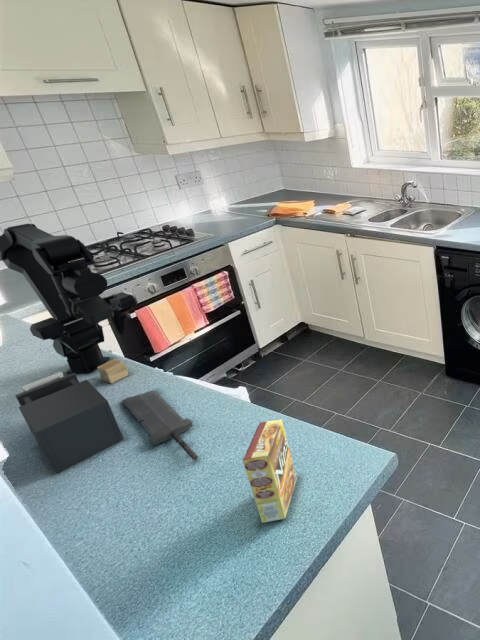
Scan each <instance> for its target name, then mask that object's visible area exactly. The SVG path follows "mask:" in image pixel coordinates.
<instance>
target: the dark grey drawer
mask: <svg viewBox="0 0 480 640" xmlns="http://www.w3.org/2000/svg"><path fill="white" fill-rule="evenodd" d="M77 383H80V381H79V379H78V377H77V373H72V374H66V375H65V376H64V374H63V372H62V371H59V372H56V373H53V374H51V375H48V376H45V377H43V378H40V379H37V380H36V381H32V382H30V383H27V384H24V385H22V386H20V388H21V390H22V392H20V393H17V394H15V395H14V396H15V398H16V400H17V402H18V404H19V407H20V406H23V405H25V404H28V403H30V402H33V401H35V400H37V399H40V398H42V397H45V396H47V395H50V394H52V393H55V392H57V391H60V390H62V389H65V388H67V387H70V386H72V385H75V384H77Z"/></svg>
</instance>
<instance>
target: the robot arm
mask: <svg viewBox="0 0 480 640" xmlns="http://www.w3.org/2000/svg"><path fill="white" fill-rule="evenodd" d="M94 257H95V256H94V255H93V253H92V252H91V251H90V249H89V248H88V247H87V246H86V244H84V243H83V242H82V241H81V240H80V239H78V238H75V237H74V236H72V235H67V234H61V235H53V234H51V233H48V232H47V231H44V230H43V229H40V228H38V227H37V226H36V224H34V223H22V224H17V225H11V226H8V227H7V228H4V229H3V233H2V234H1V235H0V262H3V264H4V265H5V266H6V267H7V268H8V269H10V270H12V271H15V272H17V273H19V274H22V276H24V278H25V279H26V281H27V282H28V284H29V286H30V287H31V288H32V290H33V291H34V293H35V294H36V296H37V297H38V298H39V300H40V301H41V303H42V304H43V306H44V307H45V309H46V310H47V312H48V313H49V314H50V317H49V318H45V319H43V320H40V321H37V322H34V323H32V324H31V325H30V327H29V331H30V332H31V334H32V336H33V337H36V338H38V339H40V340H42V341H46V340H52V347H53V349H54V350H55V352H56V354H58V355H60V356H61V357H63V358H66V362H67V365H68V367H69V369H68V370H67V371H66V375H69V374H72V373H75V374H84V373H85V374H86V373H94V372H95V371H97V370H98V369H97V367H99V366H101V365H103V364H105V363H107V362H109V360H111V357H110V356H103V353H102V350H101V348H100V346H99V344H101V343H104V342H105V335H104V330H103V328H104V327H103V326H102V325H101V324H99V323H100V322H104V321H105V320H110V319H112V322H113V324H114V327H115V328H116V330H117V332H118V334H119V335H122V336H123V335H124V334H125V325H126V324H125V323H126V317H127V314H128V313H129V312H130V311H132V310H133V309H134V306H137V305H138V304H139V302H138V300H137V298H136V296H135V295H133V294H130V293H126V292H122V291H121V292H118V293H115V294H112V295H109V296H106V297H105V296H104V297H101V296H100V295H102V294H103V293H104V292H105V291H106V290H107V288H108V280H107V279H106V278H105V276H103V275H102V274H100V273H98V272H94V271H92V270H91V268H90V267H89V266H91V265H94V264H96V261H95V260H94V259H95V258H94Z"/></svg>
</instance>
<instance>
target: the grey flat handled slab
mask: <svg viewBox="0 0 480 640" xmlns="http://www.w3.org/2000/svg"><path fill="white" fill-rule="evenodd" d="M121 402H122V403H123V405H125V407H126V408H127V409H128V411H130V413H131V414H132V415H133V416H134V417H135V419H136V420H137V421H138V422H139V423H140V425H141V426H142V428H144V429H145V431H146V432H147V433H148V434H149V435H150V436H148V440H149V442H150V443H151V445H153V446H156V445H159V444H161V443H163V442H167V441H169V440H172V439H174V441H175V442H176V443H177V444H178V445H179V446H180V448H182V449H183V451H184V452H185V453H186V454H187V455H188V456H189V457H190V458H191V460H192V461H196V460H197V459H198V458H199V456H198V455H197V454H196V452H195V451H193V449H192V448H191V447H190V446H189V445H188V444H187V443H186V441H184V440H183V439H182V438H181V436H180V435H181V434H183V433H184V432H185V431H187V430H188V429H190V428H192V427H193V422H192V421H191V420H190V419H189V418H188V417H187V418H182V417H181V416H180V414H179V413H178V412H177V411H175V409H174V408H173V407H172V406H171V405H170V404H169V403H168V402H167V401H166V400H165V399H164V398H163V397H162V396H161V395H160V394H159V393H158V392H157V391H156V390H149V391H147V392H144V393H142V394H137V395H133V396H130V397H129V396H128V397H126V398H124V399H122V400H121Z"/></svg>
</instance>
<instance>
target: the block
mask: <svg viewBox="0 0 480 640" xmlns="http://www.w3.org/2000/svg"><path fill="white" fill-rule="evenodd" d="M96 370H97V371H98V374H99V376H100V378H101V380H102V381H104V382H107V383H109V384H114V383H116V382H117V381H120V380H121V379H123V378H125V377H127V376H130V374H129V372H128V369H127V367H126V364H125V362H124V361H122V360H119V359H116V358H114V359H112V360H110V361H109V360H108V361H107V362H105V363H104V364H103V365H101V366H99V367H97V369H96Z"/></svg>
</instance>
